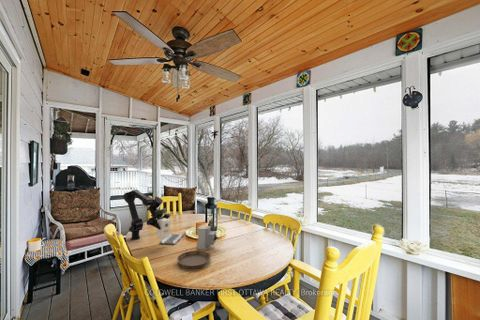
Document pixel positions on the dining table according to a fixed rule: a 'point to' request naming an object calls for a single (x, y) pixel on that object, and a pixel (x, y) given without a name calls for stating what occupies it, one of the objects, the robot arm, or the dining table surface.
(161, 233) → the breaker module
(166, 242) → the rail plate
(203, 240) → the circuit breaker
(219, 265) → the dining table surface
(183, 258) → the plant saucer
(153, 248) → the dining table surface
